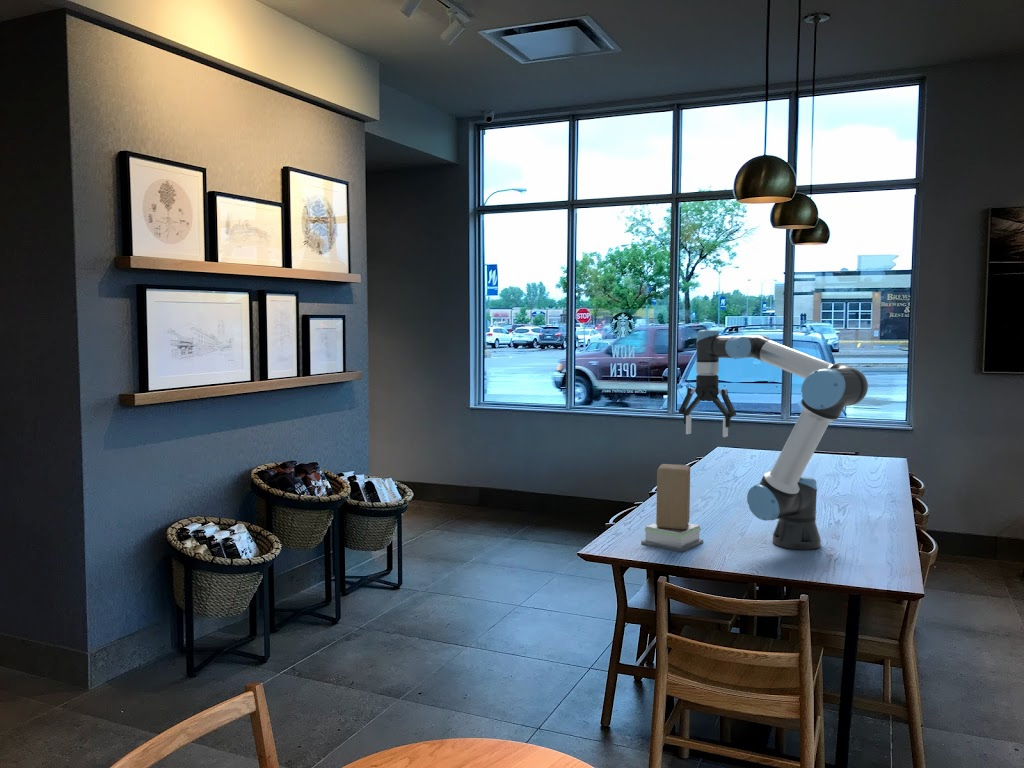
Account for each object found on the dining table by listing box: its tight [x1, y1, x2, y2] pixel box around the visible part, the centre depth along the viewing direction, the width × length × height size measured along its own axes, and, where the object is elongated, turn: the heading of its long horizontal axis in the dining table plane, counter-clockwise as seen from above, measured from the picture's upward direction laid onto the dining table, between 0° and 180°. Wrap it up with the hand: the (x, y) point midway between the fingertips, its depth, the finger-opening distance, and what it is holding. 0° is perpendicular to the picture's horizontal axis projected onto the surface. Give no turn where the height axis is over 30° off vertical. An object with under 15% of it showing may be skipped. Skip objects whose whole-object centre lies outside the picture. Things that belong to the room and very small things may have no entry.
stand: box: [640, 522, 704, 553], centre depth 268 cm, size 15×15×6 cm
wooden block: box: [655, 463, 691, 530], centre depth 267 cm, size 10×10×20 cm
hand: (706, 435), depth 279 cm, fingers open, 13 cm apart
